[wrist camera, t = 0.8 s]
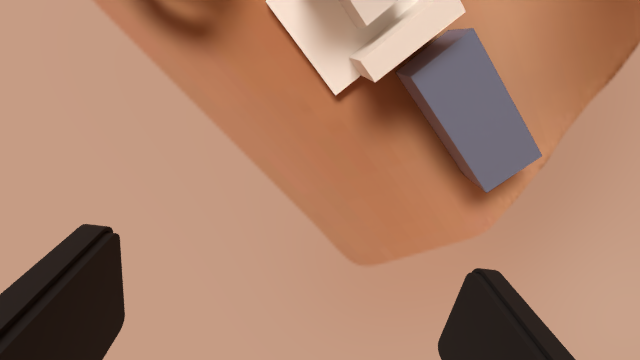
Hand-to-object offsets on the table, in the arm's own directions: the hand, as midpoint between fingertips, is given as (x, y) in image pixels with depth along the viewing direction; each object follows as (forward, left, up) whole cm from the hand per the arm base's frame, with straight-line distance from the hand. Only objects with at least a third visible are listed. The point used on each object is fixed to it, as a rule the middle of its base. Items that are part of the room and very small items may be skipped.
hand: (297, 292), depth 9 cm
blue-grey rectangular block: (-13, +10, -26) cm, 31 cm away
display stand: (-11, -4, -26) cm, 28 cm away
